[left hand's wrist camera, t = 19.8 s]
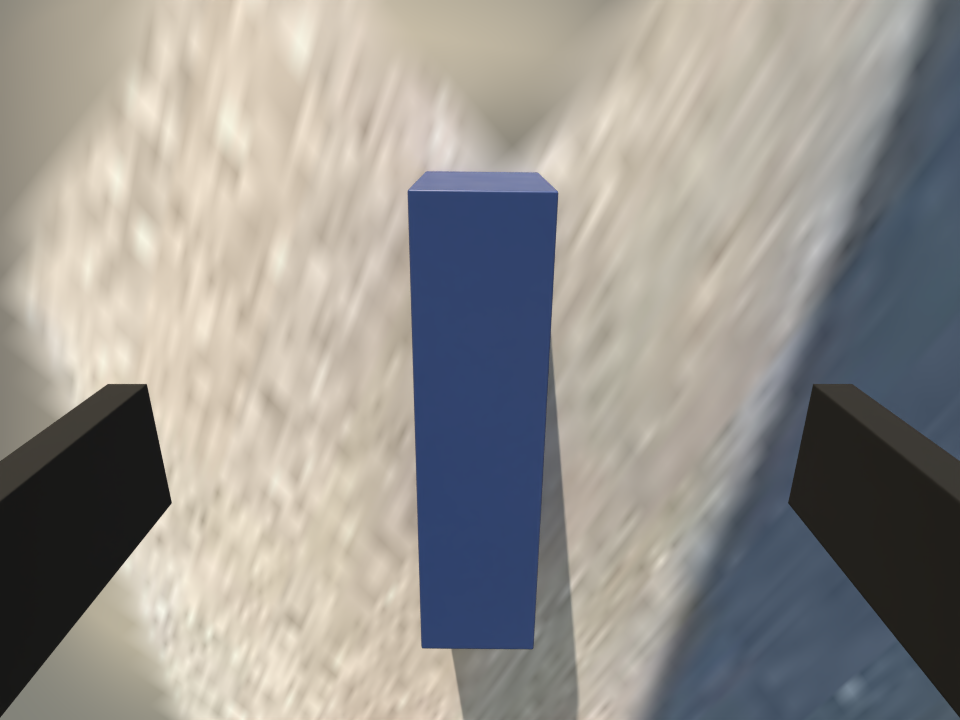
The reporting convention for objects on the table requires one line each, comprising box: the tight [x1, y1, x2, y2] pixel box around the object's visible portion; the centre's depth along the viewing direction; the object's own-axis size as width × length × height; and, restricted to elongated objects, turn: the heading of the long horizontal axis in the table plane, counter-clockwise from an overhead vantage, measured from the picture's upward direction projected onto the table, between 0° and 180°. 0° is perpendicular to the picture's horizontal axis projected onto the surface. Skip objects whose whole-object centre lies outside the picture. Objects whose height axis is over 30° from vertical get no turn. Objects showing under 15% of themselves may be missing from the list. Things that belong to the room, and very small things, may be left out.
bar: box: [408, 171, 558, 649], centre depth 32 cm, size 23×6×9 cm, turn 179°
